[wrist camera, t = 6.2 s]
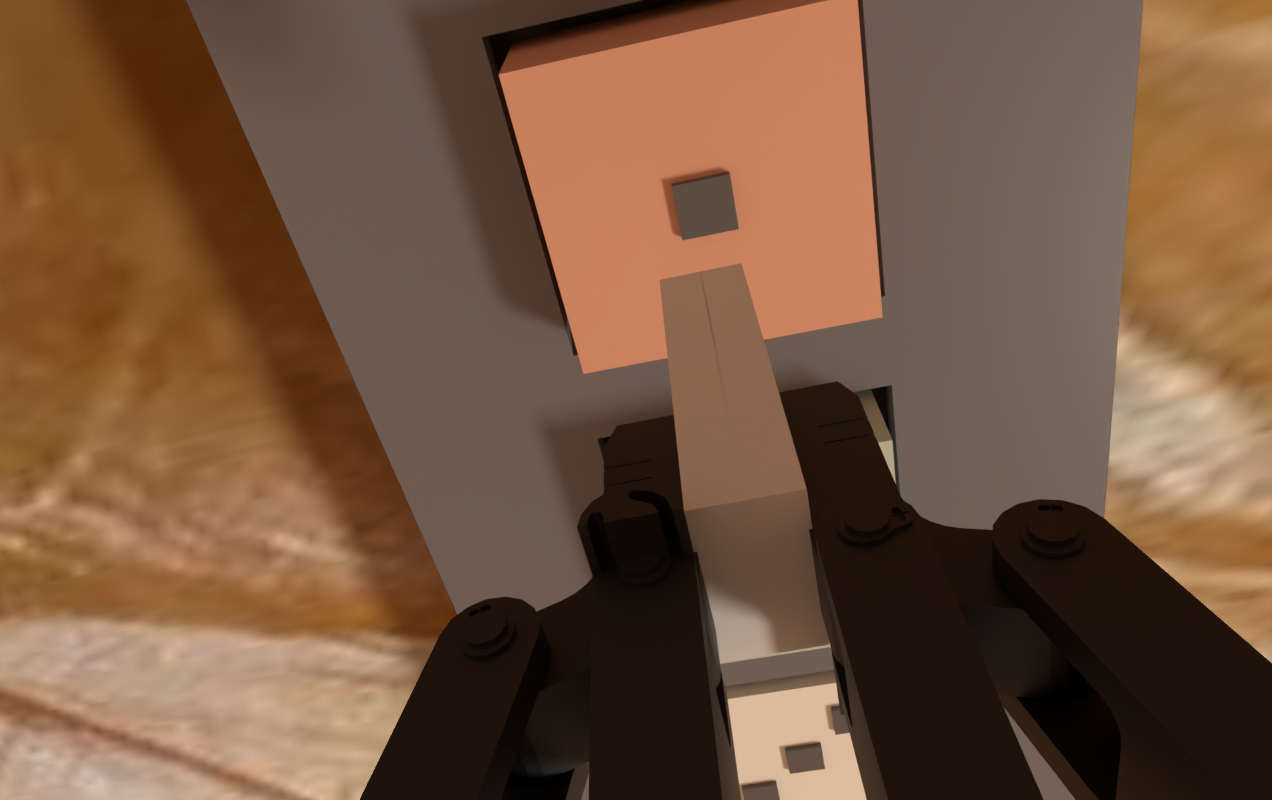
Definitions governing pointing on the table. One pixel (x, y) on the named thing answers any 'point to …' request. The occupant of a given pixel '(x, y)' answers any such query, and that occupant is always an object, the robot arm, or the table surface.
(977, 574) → the robot arm
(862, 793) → the button cream
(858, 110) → the button terracotta
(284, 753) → the table surface
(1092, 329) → the button panel
